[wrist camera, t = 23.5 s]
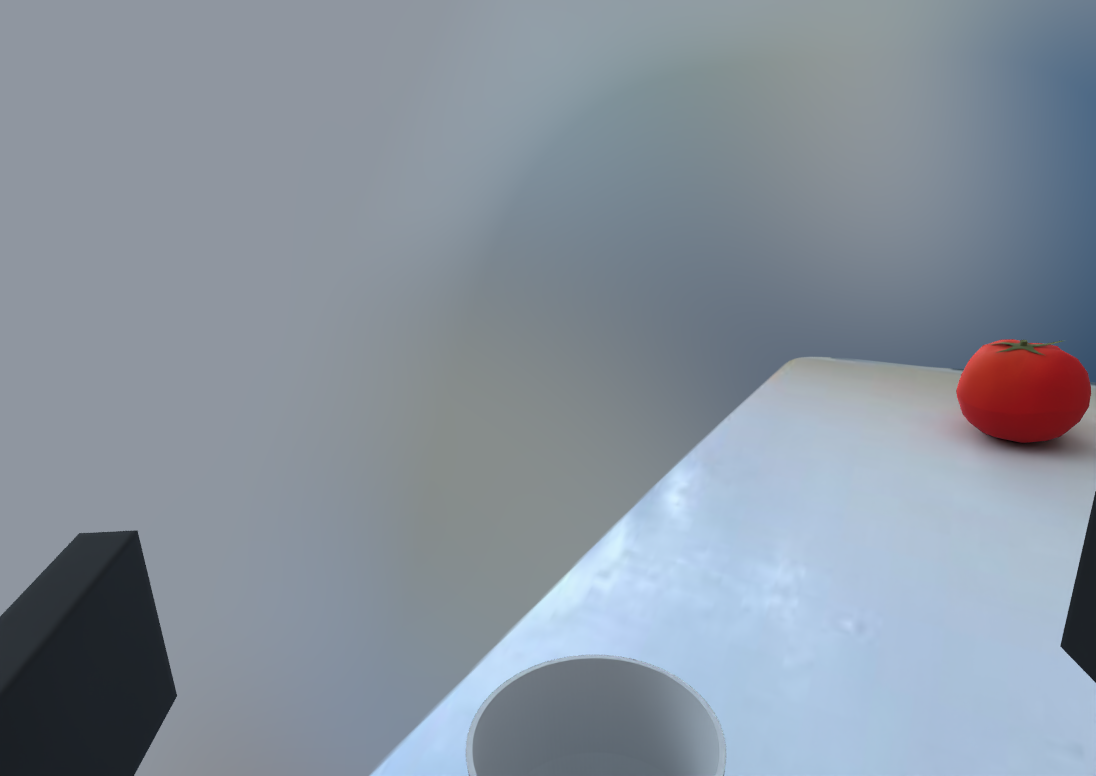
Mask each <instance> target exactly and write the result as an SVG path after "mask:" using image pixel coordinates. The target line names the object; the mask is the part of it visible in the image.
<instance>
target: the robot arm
mask: <svg viewBox="0 0 1096 776" xmlns="http://www.w3.org/2000/svg"><path fill="white" fill-rule="evenodd" d="M1061 647H1062V648H1063V649H1064V650H1065V652H1066V653H1067V654H1068V655H1069V656H1070V657H1071V658H1072V659H1073V660H1074V661H1075V662H1076V663H1077V664H1078V665H1079V666H1080V667H1081V668H1082V669H1083V670H1084V671H1085V672H1086V673H1087V674H1088V675H1089V676H1090V677H1091V678H1092V679H1093V680H1094V681H1095V682H1096V492H1095V496H1094V501H1093V505H1092V509H1091V514H1090V518H1089V523H1088V527H1087V531H1086V536H1085V540H1084V545H1083V549H1082V553H1081V558H1080V562H1079V567H1078V571H1077V575H1076V580H1075V584H1074V589H1073V593H1072V597H1071V602H1070V606H1069V611H1068V615H1067V619H1066V624H1065V628H1064V633H1063V637H1062V641H1061ZM176 697H177V694H176V690H175V685H174V681H173V677H172V674H171V669H170V665H169V661H168V656H167V652H166V648H165V644H164V640H163V636H162V631H161V627H160V623H159V619H158V615H157V610H156V606H155V602H154V598H153V594H152V590H151V586H150V582H149V577H148V573H147V569H146V565H145V561H144V556H143V553H142V548H141V544H140V540H139V535H138V531H120V532H119V531H118V532H99V533H79V534H78V535H77V536H76V538H74V540H73V541H72V542H71V543H70V544H69V545H68V546H67V547H66V548H65V549H64V550H63V551H62V552H61V553H60V554H59V555H58V557H56V559H55V560H54V561H53V562H52V563H51V564H50V565H49V566H48V567H47V568H46V569H45V570H44V571H43V572H42V573H41V575H39V576H38V578H37V579H36V580H35V581H34V582H33V583H32V584H31V585H30V586H29V587H28V588H27V589H26V590H25V591H24V592H23V593H22V594H21V595H20V597H19V598H18V599H17V600H16V601H15V602H14V603H13V604H12V605H11V606H10V607H9V608H8V609H7V610H6V611H5V612H4V613H3V614H2V615H1V616H0V776H134V774H135V772H136V771H137V769H138V767H139V765H140V763H141V762H142V760H143V758H144V756H145V754H146V752H147V750H148V749H149V747H150V745H151V743H152V741H153V739H154V737H155V736H156V734H157V732H158V730H159V728H160V726H161V725H162V723H163V721H164V719H165V717H166V715H167V713H168V712H169V710H170V708H171V706H172V704H173V702H174V700H175V699H176Z"/></svg>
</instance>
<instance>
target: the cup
mask: <svg viewBox="0 0 1096 776" xmlns="http://www.w3.org/2000/svg"><path fill="white" fill-rule="evenodd" d="M466 761H467V768H468V773H469V776H724V772H725V764H726V744H725V738H724V734H723V731H722V728H721V725H720V723H719V721H718V719H717V717H716V715H715V713H714V712H713V710H712V709H711V707H710V706H709V704H708V703H707V702H706V701H705V700H704V698H703V697H702V696H701V695H700V694H699V693H698V692H697V691H696V690H694V689H693V688H692V687H691V686H690V685H688V684H687V683H686V682H684V681H683V680H681V679H680V678H678V677H677V676H675V675H673V674H671V673H669V672H667V671H665V670H663V669H661V668H659V667H656V666H654V665H651V664H648V663H645V662H642V661H638V660H635V659H630V658H625V657H619V656H610V655H578V656H570V657H564V658H559V659H554V660H551V661H547V662H544V663H541V664H538V665H535V666H533V667H530V668H528V669H526V670H524V671H522V672H520V673H518V674H516V675H515V676H513V677H511V678H510V679H508V680H507V681H505V682H504V683H503V684H501V685H500V686H499V687H498V688H497V689H496V690H494V691H493V692H492V693H491V694H490V695H489V697H488V698H487V699H486V700H485V701H484V702H483V704H482V705H481V706H480V708H479V709H478V711H477V713H476V715H475V716H474V718H473V721H472V723H471V726H470V728H469V732H468V736H467V741H466Z"/></svg>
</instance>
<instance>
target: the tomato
mask: <svg viewBox="0 0 1096 776" xmlns="http://www.w3.org/2000/svg"><path fill="white" fill-rule="evenodd" d="M1058 342H1062V341H1058ZM1058 342H1053V343H1047V344H1042V343H1028V342H1027V340H1021V341H1018V340H1013V339H1012V340H999V341H996V342H993V343H990V344H987V345H983V346H982V347H981V348H980V349H979V350H978V351H977V352H976V353H975V354H974V355H973V356H972V358H971V359H970V360H969V361H968V363H967V365H966V367H965V369H964V371H963V373H962V374H961V378H960V380H959V383H958V387H957V390H956V392H957V398H958V401H959V404H960V407H961V410H962V413H963V415H964V416H965V417H966V419H967V420H968V421H969V422H970V423H971V424H973V425H974V426H975V427H976V428H978V429H979V430H980V431H982V432H983V433H985V434H988V435H990V436H993V437H997V438H1002V439H1006V440H1011V441H1016V442H1021V443H1028V442H1039V441H1048V440H1051V439H1054V438H1057V437H1060V436H1061V435H1063V434H1064V433H1066V432H1067V431H1068V430H1070V429H1071V428H1072V427H1073V426H1075V425H1076V424H1077V423H1078V422H1080V420H1081V418H1082V417H1083V415H1084V414H1085V412H1086V410H1087V409H1088V407H1089V402H1090V396H1091V386H1090V381H1089V377H1088V373H1087V371H1086V370H1085V368H1084V367H1083V366H1082V364H1081V363H1080V362H1079V360H1078V359H1077V358H1075V357H1073V356H1071V355H1069V354H1068V353H1066V352H1064V351H1062V350H1060V348H1058V347H1057V346H1053V345H1051V344H1054V343H1058Z"/></svg>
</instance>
